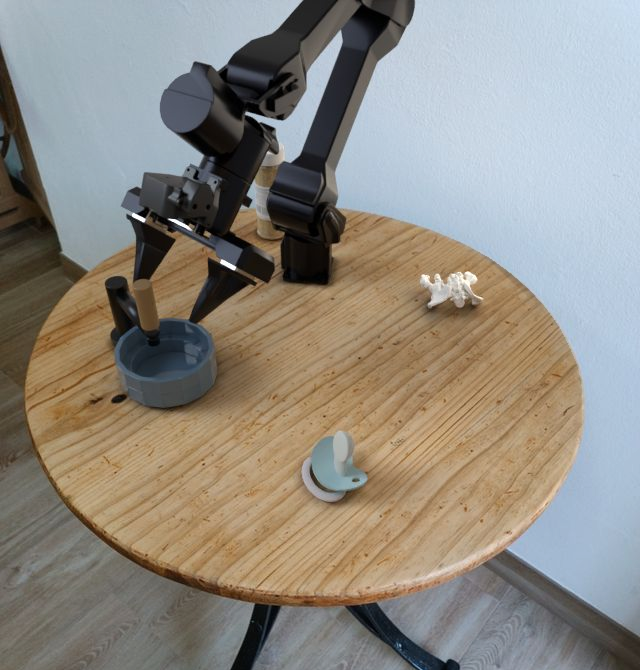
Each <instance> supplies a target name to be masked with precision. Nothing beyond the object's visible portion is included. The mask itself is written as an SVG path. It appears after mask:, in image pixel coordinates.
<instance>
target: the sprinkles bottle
mask: <svg viewBox="0 0 640 670" xmlns="http://www.w3.org/2000/svg"><path fill="white" fill-rule="evenodd" d="M278 143H279V153H278V154H277V155H275V154H273V153H271V152H267V154H266V156H265V158H264V160H263V162H262V164H261V166H260V168H259V170H258V173H257V175H256V177H255V179H254V181H253V183H254V199H255V213H256V214H255V215H256V220H257V229H256V233H257V235H258V236H259V237H260V238H262V239H266V240H271V241H273V240H278V239H282V238H283V235H284V234H285V233H284V232H281V231H276V230H274V229H273V226H272V223H271V220H270V217H269V214H268V211H267V208H266V201H267V197H268V194H269V189H270V187H271V185H272V184H273V182H274V179H275V176H276V173H277V169H278V166H279V165H280V164H281V163H282V162H283V161H285V159H286V153H285V152H286V151H285V146H284V144H283V143H282V142H280V141H278Z"/></svg>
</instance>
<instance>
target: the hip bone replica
mask: <svg viewBox="0 0 640 670" xmlns="http://www.w3.org/2000/svg"><path fill="white" fill-rule="evenodd" d="M430 279H431V277H430V275H428V274H420V280H419V285H420V287H422V288H423V289H428V292H430V293H431V296H430V302H428V303H427V307H428V309H432V307H434V306H437V305H439V304H441V303H445V302H446V301H447V300H448V299H449V301H453V304H454V305H455V307H457V308H459V309H460V308H463V307H464V306H465V304H466V303H465V300H468V299H469V298H470V300H471V304H472V305H478V304H480V303H482V302H483V301H484V297H480V296H478V295H477V294H475V293H474V292H473V290H472V288H471V286H473V285H475V284H477V282H478V278H477V276H476V275H475V274H473V273H472V272H470V271H465V272H464V273H462V272H461V271H457V272H455V273H449V276H448V277H447V278H446V279H447V282H446V283H444V279H442V278H441V275H440V274H439V273H435V274H434V276H433V279H434V281H435V282H433V283H432V282H431V281H430Z"/></svg>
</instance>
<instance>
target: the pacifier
mask: <svg viewBox="0 0 640 670" xmlns="http://www.w3.org/2000/svg"><path fill="white" fill-rule="evenodd" d="M354 451H355V440H354V438H353V436H352V435H351V434H350V433H349V432H348V431H346V430H338V431H336V432H335V434H334V435H328V436H325V437H323V438H321V439H320V440H319V441H317V442H316V444H315V445H314V446H313V448H312V451H311V454H310V455H311V456H308V457H307V458H306V459H305V460H304V461H303V463H302V466H301V478H302V481H303V483H304V485H305V487H306V488H307V490H308V491H309V493H310V494H312V495H313V496H314V497H316V498H317V499H318V500H321V501H324V502H327V503H335V502H338V501H340V500H342V499H343V497H344V496H345V495H346V493H347V492H349V491H353V490H357V489H360V488H362V487H363V486H364V485H365V484H366V483H367V481H368V475H367V473H366V472H365V471H363V469H361V468H359V467H356V466H354V465H353V462H354V456H353V455H354ZM311 469H312V472H313V474H314V476H315V478H316V480H317V481H318V483H320V485H321V486H322V487H324V488H326V489H328V490H330V491H333V492H327V491H324V490H322V489H321V488H319V487H318V486H317V485H316V484H315V482H314V480H313V479H312V476H311ZM353 480H358V481H353Z"/></svg>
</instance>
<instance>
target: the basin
mask: <svg viewBox="0 0 640 670" xmlns="http://www.w3.org/2000/svg"><path fill="white" fill-rule="evenodd" d="M159 323H160V325H159V328H160V334H159V337H160V344H159V345H158V346H155V347H152V346H149V345H148V342H147V337H146V336H145V335H144V334H143V333H142V331H141V330H140V329H139V328H138V327H137V326H135V327H133V328H132V329H130V330H129V331H128V332H127V333H125V334H124V335H123V336H122V337H121V338H120V339H119V341H118V343H117V345H116V347H114V349H113V353H114V354H113V355H114V363H115V367H116V372H117V374H118V379H119V383H120V386H121V388H122V390H123V391H124V392H125V394H126V395H127V396H128V397H129V399H130V400H132V401H135V402H137V403H139V404H141V405H143V406H145V407H154V408H163V409H164V408H165V409H166V408H172V407H177V406H183V405H186V404H189V403H191V402H193V401H196V400H198V399H199V398H201V397H203V396H204V395H205V394H206V393H207V392H208V391H209V390H210V389H211V388H212V387H213V386H214V384H215V381H216V378H217V376H218V363H217V355H216V348H215V343H214V339H213V335H212V334H211V333H210V332H209V331H208V330H207V329H206V328H205V327H204V326H203V325H202V324H200V323H197V324H194V323H191V322H190V321H189V318H188V319H187V318H179V317H164V318H159Z"/></svg>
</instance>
